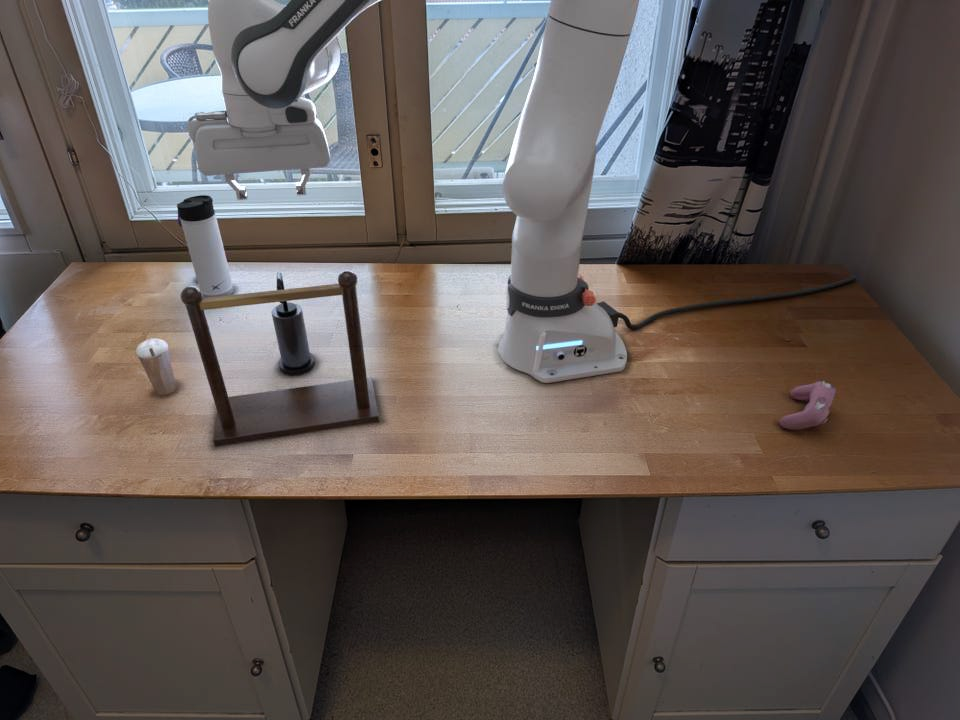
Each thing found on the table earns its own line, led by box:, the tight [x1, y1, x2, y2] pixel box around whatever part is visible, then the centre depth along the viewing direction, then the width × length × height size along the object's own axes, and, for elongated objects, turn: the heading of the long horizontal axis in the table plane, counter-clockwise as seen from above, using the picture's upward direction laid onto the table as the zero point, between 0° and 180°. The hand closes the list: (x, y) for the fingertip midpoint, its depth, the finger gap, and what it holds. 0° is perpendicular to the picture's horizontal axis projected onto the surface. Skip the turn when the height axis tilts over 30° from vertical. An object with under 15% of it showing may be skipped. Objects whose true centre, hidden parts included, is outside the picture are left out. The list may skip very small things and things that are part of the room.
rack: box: [180, 269, 380, 447], centre depth 94 cm, size 10×24×25 cm, turn 104°
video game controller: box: [779, 380, 837, 431], centre depth 100 cm, size 10×5×7 cm, turn 148°
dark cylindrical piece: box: [271, 271, 316, 377], centre depth 105 cm, size 8×6×18 cm
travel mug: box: [176, 194, 235, 298], centre depth 125 cm, size 6×7×20 cm
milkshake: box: [135, 337, 178, 396], centre depth 102 cm, size 4×5×10 cm
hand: (272, 196), depth 107 cm, fingers open, 8 cm apart
